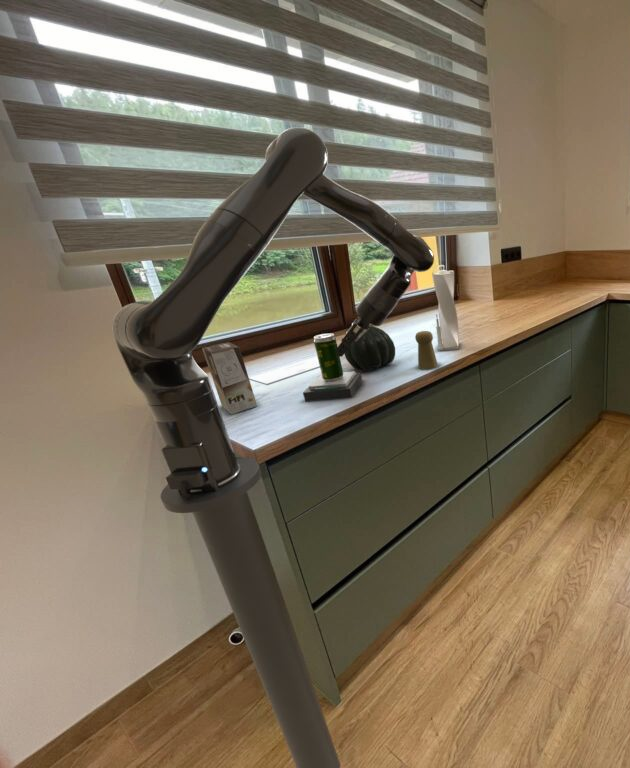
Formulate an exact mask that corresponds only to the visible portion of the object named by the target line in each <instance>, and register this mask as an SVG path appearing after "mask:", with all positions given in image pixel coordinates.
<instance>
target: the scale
mask: <svg viewBox="0 0 630 768" xmlns="http://www.w3.org/2000/svg"><path fill="white" fill-rule="evenodd" d="M362 383H363V376H362V373H361V372H359V373H356V371H343V378H342V379H340V380H337V381H331V382H327V381H325V380H324V379H323V378H322V374H320V375H319V376H318V377H316V379H315V380H314V381H313V382H312V383H311V384H310V385H309V386H308V387H307V388H306V389H305V390H304V391H303V392H302V395H303V398H304V401H305V402H314V401H324V400H325V401H326V400H339V399H349V398H353V396H354V395H355V393H356V392H357V390H358V389H359V387H360V386H361V384H362Z"/></svg>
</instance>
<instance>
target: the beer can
mask: <svg viewBox="0 0 630 768" xmlns="http://www.w3.org/2000/svg"><path fill="white" fill-rule="evenodd" d="M313 345H314V350H315V352H316V356H317V361H318V365H319V369H320V373H321V374H322V378H323V379H324V380H325V381H327V382H331V381H337V380H340V379H342V378H343V372H344V370H343V366H342V361H341V357H340V356H338V355H337V354H336V353H335V350H336V349H337V347H338V343H337V338H336V336H335V334H334V333H331V332H330V333H328V332H327V333H321V334H317V335H315V336H313ZM321 374H320V375H321Z"/></svg>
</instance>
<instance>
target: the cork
mask: <svg viewBox="0 0 630 768" xmlns="http://www.w3.org/2000/svg"><path fill="white" fill-rule="evenodd" d="M414 338H415V341H416V343H417V357H418V358H417V363H418V364H417V367H418V369H419V370H431V369H435V368H437V367H439V366H438V365H439V364H438V360H437V357H436V352H435V350H434V345H433V342H432V341H433V339H434V336H433V333H432V332H431V331H429V330H421V331H418V332H416V333H415V337H414Z"/></svg>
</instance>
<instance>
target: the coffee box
mask: <svg viewBox="0 0 630 768" xmlns="http://www.w3.org/2000/svg"><path fill="white" fill-rule="evenodd" d="M201 349H202V352H203V355H204V358H205V361H206V364H207V367H208V369H209V372H210V375H211V378H212V381H213V384H214V387H215V389H216V393H217V395H218V399H219V402H220V405H221V407H222V408H223V409H225V410H226V411H227V412H228V413H229V414H230V415H234V414H237V413H240V412H243V411H247V410H249V409H252V408H256V407H257V406H258V404H257V399H256V397H255V393H254V391H253V387H252V384H251V381H250V377H249V374H248V371H247V368H246V364H245V361H244V358H243V354H242V352H241V348H240V346H238V345H236V344H234V343H232V342H230V341H227V342H222V343H217V344H213V345H209V346H205V347H201Z"/></svg>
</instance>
